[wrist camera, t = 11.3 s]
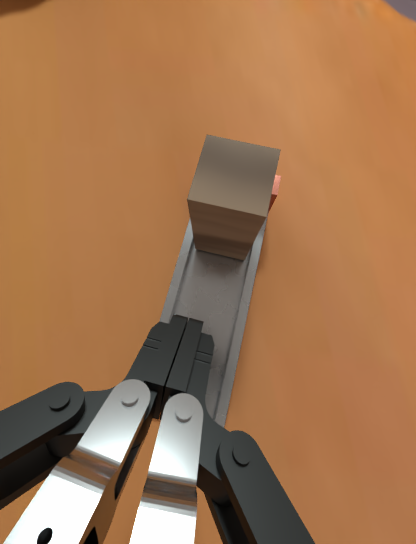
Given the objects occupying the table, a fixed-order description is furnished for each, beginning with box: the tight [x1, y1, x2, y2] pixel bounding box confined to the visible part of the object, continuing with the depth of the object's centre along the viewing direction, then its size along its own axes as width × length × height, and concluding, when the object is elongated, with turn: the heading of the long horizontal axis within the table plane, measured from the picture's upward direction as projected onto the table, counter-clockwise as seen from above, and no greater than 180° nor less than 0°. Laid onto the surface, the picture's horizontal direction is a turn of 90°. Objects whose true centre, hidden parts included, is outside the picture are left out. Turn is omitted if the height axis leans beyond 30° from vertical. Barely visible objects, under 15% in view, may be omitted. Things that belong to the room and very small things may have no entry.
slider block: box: [187, 135, 280, 260], centre depth 19 cm, size 5×5×9 cm
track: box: [159, 175, 281, 428], centre depth 21 cm, size 22×8×5 cm, turn 166°
